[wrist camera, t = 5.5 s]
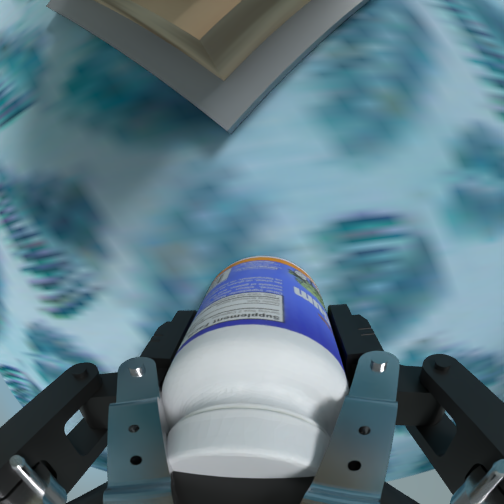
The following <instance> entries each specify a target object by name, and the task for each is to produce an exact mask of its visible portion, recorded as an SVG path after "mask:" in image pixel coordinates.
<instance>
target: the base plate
mask: <svg viewBox="0 0 504 504" xmlns="http://www.w3.org/2000/svg"><path fill="white" fill-rule="evenodd" d="M368 1H369V0H311V1H310V2H308V3H307V4H306V5H305V6H304V7H302V8H301V9H300V10H299V11H297V12H296V13H295V14H294V15H293V16H292V17H290V18H289V19H288V20H287V21H286V22H285V23H283V24H282V25H281V26H280V27H279V28H278V29H277V30H276V31H275V32H273V33H272V34H271V35H270V36H269V37H268V38H267V39H266V40H265V41H264V42H263V43H262V44H260V45H259V46H258V47H257V48H256V49H255V50H254V51H253V52H252V53H251V54H250V55H249V56H248V57H247V58H246V59H245V60H244V61H243V62H242V63H241V64H240V65H239V66H238V67H237V68H236V69H235V70H234V71H233V72H232V73H231V74H230V75H229V76H228V77H227V79H226V80H225V81H223V80H221V79H220V78H219V77H217V76H216V75H215V74H213V73H212V72H210V71H209V70H208V69H206V68H205V67H203V66H202V65H201V64H199V63H198V62H196V61H195V60H193V59H192V58H190V57H189V56H188V55H186V54H185V53H183V52H182V51H180V50H179V49H177V48H175V47H174V46H172V45H171V44H169V43H168V42H166V41H165V40H163V39H161V38H160V37H158V36H157V35H155V34H153V33H152V32H150V31H148V30H147V29H145V28H143V27H142V26H140V25H138V24H137V23H135V22H133V21H131V20H130V19H128V18H126V17H124V16H123V15H121V14H119V13H117V12H115V11H113V10H111V9H110V8H108V7H106V6H104V5H102V4H100V3H98V2H96V1H94V0H51V1H50V2H49V3H48V4H47V6H46V7H48V8H50V9H52V10H54V11H55V12H57V13H59V14H61V15H62V16H64V17H66V18H67V19H69V20H71V21H73V22H74V23H76V24H78V25H79V26H81V27H82V28H84V29H86V30H87V31H89V32H91V33H92V34H94V35H95V36H97V37H98V38H100V39H102V40H103V41H105V42H106V43H108V44H109V45H111V46H112V47H114V48H115V49H117V50H118V51H120V52H121V53H123V54H124V55H126V56H127V57H129V58H130V59H132V60H133V61H135V62H136V63H138V64H139V65H140V66H142V67H143V68H145V69H146V70H148V71H149V72H150V73H152V74H153V75H155V76H156V77H157V78H159V79H160V80H161V81H163V82H164V83H166V84H167V85H168V86H170V87H171V88H172V89H174V90H175V91H176V92H178V93H179V94H180V95H182V96H183V97H184V98H186V99H187V100H188V101H190V102H191V103H192V104H194V105H195V106H196V107H197V108H199V109H200V110H201V111H203V112H204V113H205V114H206V115H208V116H209V117H210V118H211V119H213V120H214V121H215V122H216V123H218V124H219V125H220V126H221V127H223V128H224V129H225V130H226V131H228V132H229V133H230V134H231V133H232V132H233V131H234V130H235V129H236V128H237V127H238V126H239V124H240V123H241V122H242V121H243V120H244V119H245V118H246V117H247V116H248V115H249V113H250V112H251V111H252V110H253V109H254V108H255V107H256V106H257V105H258V104H259V103H260V102H261V101H262V100H263V99H264V97H265V96H266V95H267V94H268V93H269V92H270V91H271V90H272V89H273V88H274V87H275V86H276V85H277V84H278V83H279V82H280V81H281V80H282V79H283V78H284V77H285V76H286V75H287V74H288V73H289V72H290V71H291V70H292V69H293V68H294V67H295V66H296V65H297V64H298V63H299V62H300V61H301V60H302V59H303V58H304V57H305V56H307V55H308V54H309V53H310V52H311V51H312V50H313V49H314V48H315V47H316V46H317V45H318V44H319V43H320V42H322V41H323V40H324V39H325V38H326V37H327V36H328V35H329V34H330V33H332V32H333V31H334V30H335V29H336V28H337V27H338V26H339V25H341V24H342V23H343V22H344V21H345V20H346V19H348V18H349V17H350V16H351V15H352V14H353V13H355V12H356V11H357V10H358V9H360V8H361V7H362V6H363V5H364V4H366V3H367V2H368Z"/></svg>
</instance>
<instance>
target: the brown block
mask: <svg viewBox="0 0 504 504" xmlns="http://www.w3.org/2000/svg"><path fill="white" fill-rule="evenodd" d="M94 1H96V2H98V3H100V4H102V5H104V6H106V7H108V8H110V9H111V10H113V11H115V12H117V13H119V14H121V15H123V16H124V17H126V18H128V19H130V20H131V21H133V22H135V23H137V24H138V25H140V26H142V27H143V28H145V29H147V30H148V31H150V32H152V33H153V34H155V35H157V36H158V37H160V38H161V39H163V40H165V41H166V42H168V43H169V44H171V45H172V46H174V47H175V48H177V49H179V50H180V51H182V52H183V53H185V54H186V55H188V56H189V57H190V58H192V59H193V60H195V61H196V62H198V63H199V64H201V65H202V66H203V67H205V68H206V69H208V70H209V71H210V72H212V73H213V74H215V75H216V76H217V77H219V78H220V79H221V80H223V81H225V80H226V79H227V77H228V76H229V75H230V74H231V73H232V72H233V71H234V70H235V69H236V68H237V67H238V66H239V65H240V64H241V63H242V62H243V61H244V60H245V59H246V58H247V57H248V56H249V55H250V54H251V53H252V52H253V51H254V50H255V49H256V48H257V47H258V46H259V45H260V44H262V43H263V42H264V41H265V40H266V39H267V38H268V37H269V36H270V35H271V34H272V33H273V32H275V31H276V30H277V29H278V28H279V27H280V26H281V25H282V24H283V23H285V22H286V21H287V20H288V19H289V18H290V17H292V16H293V15H294V14H295V13H296V12H297V11H299V10H300V9H301V8H302V7H304V6H305V5H306V4H307V3H308V2H310V1H311V0H94Z"/></svg>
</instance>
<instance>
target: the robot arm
mask: <svg viewBox="0 0 504 504" xmlns="http://www.w3.org/2000/svg"><path fill="white" fill-rule="evenodd" d="M196 314H197V312H196V311H195V310H191V311H178V312H177V313H176V315H175V316H174V318H173V320H172V321H171V322H166V323H164V324H163V325H161V326H160V327H159V328H158V329H157V330H156V332H155V334H154V336H153V337H152V338H151V340H150V341H149V343H148V345H147V346H146V348H145V349H144V351H143V352H142V354H141V356H140V357H135V358H131V359H129V360H127V361H125V362H124V363H122V364H121V365H120V367H119V369H118V372H116V373H108V374H99V371H98V369H97V367H96V365H94V364H92V363H79V364H76V365H74V366H72V367H70V368H69V369H67V370H66V371H65V372H64V373H63V374H62V375H60V376H59V377H58V378H57V379H56V380H55V381H53V382H52V383H51V384H50V385H49V386H47V387H46V388H45V389H44V390H43V391H42V392H41V393H39V394H38V395H37V396H36V397H35V398H34V399H32V400H31V401H30V402H29V403H28V404H27V405H26V406H24V407H23V408H22V409H21V410H20V411H19V412H18V413H16V414H15V415H14V416H13V417H12V418H11V419H10V420H8V421H7V422H6V423H5V424H4V425H3V426H2V427H1V428H0V504H419V503H417V502H416V501H414V500H413V499H411V498H410V497H408V496H406V495H404V494H403V493H402V492H400V491H398V490H397V489H395V488H394V487H392V486H391V485H389V484H388V483H386V482H385V476H386V472H387V467H388V463H389V458H390V452H391V447H392V441H393V435H394V429H395V425H405V426H406V428H407V430H408V431H409V433H410V434H411V435H412V437H413V438H414V440H415V441H416V442H417V444H418V445H419V447H420V448H421V449H422V451H423V452H424V454H425V455H426V457H427V458H428V459H429V461H430V462H431V464H432V465H433V467H434V468H435V469H436V471H437V472H438V474H439V475H440V477H441V478H442V480H443V481H444V482H445V484H446V485H447V487H448V488H449V490H450V491H451V493H452V494H453V496H452V498H451V501H450V504H504V403H503V402H502V401H501V400H500V399H499V398H498V397H497V396H496V395H495V394H494V393H493V392H491V391H490V390H489V389H488V388H487V387H486V386H485V385H484V384H483V383H482V382H481V381H480V380H478V379H477V378H476V377H475V376H474V375H473V374H472V373H471V372H470V371H468V370H467V369H466V368H465V367H464V366H463V365H462V364H461V363H459V362H458V361H457V360H456V359H455V358H453V357H451V356H448V355H444V354H434V355H431V356H428V357H427V358H426V359H425V360H424V362H423V365H422V367H415V366H404V365H400V364H399V360H398V359H397V357H396V356H394V355H393V354H391V353H388V352H385V351H384V350H383V348H382V346H381V345H380V343H379V341H378V339H377V337H376V335H375V334H374V331H373V330H372V329H371V326H370V324H369V322H368V320H366V319H365V318H363V317H362V316H361V315H352V314H351V312H350V310H349V308H348V306H347V304H341V305H329V306H328V318H329V322H330V325H331V328H332V331H333V334H334V337H335V341H336V344H337V347H338V351H339V354H340V357H341V360H342V364H343V367H344V371H345V374H346V378H347V381H348V386H349V390H350V391H349V395H346V397H345V399H344V402H343V405H342V408H341V411H340V414H339V417H338V419H337V422H336V425H335V428H334V430H333V433H332V436H331V438H330V441H329V444H328V446H327V449H326V451H325V454H324V456H323V459H322V461H321V463H320V466H319V468H318V470H317V473H316V475H315V476H311V477H296V478H235V477H220V476H209V475H200V474H192V473H184V472H178V471H173V469H172V466H171V464H170V462H169V458H168V447H167V436H168V434H169V432H170V430H171V429H170V428H169V425H168V422H167V419H166V415H165V411H164V405H163V400H162V395H161V392H162V386H163V382H164V379H165V376H166V374H167V372H168V370H169V368H170V366H171V363H172V361H173V359H174V357H175V355H176V353H177V351H178V349H179V347H180V345H181V343H182V341H183V339H184V337H185V335H186V333H187V331H188V329H189V327H190V325H191V323H192V322H193V320H194V318H195V316H196ZM78 410H80V412H81V413H82V415H83V417H84V418H83V419H82V420H81V421H80V422H79V423H78V424H77V425H76V426H75V428H74V429H73V430H72V431H71V432H70V433H69V434H68V435H67V436H66V434H65V432H64V427H65V424H66V422H67V421H68V420H69V419H70V418H71V417H72V416H73V415H74V414H75V413H76V412H77V411H78ZM445 410H446V411H447V412H448V414H449V415H450V416H451V417H452V418H453V419H454V421H455V423H456V426H457V427H456V426H455V425H454V423H453V422H452V421H451V420H450V419H449V418H448V416H447V415H446V414H445V413H444V412H445ZM106 446H107V473H108V481H107V482H106V483H104V484H102V485H100V486H98V487H97V488H95V489H93V490H91V491H89V492H87V493H86V494H84V495H82V496H80V497H78V498H76V499H74V500H72V501H70V502H68V503H66V501H67V494H68V493H69V491H70V490H71V489H72V488H73V487H74V485H75V484H76V483H77V482H78V481H79V479H80V478H81V477H82V476H83V474H84V473H85V472H86V471H87V469H88V468H89V467H90V466H91V465H92V463H93V462H94V461H95V460H96V459H97V457H98V456H99V455H100V454H101V452H102V451H103V450H104V449H105V448H106Z"/></svg>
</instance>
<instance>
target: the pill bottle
mask: <svg viewBox="0 0 504 504" xmlns="http://www.w3.org/2000/svg"><path fill="white" fill-rule="evenodd" d="M349 391H350V390H349V386H348V381H347V378H346V374H345V371H344V367H343V364H342V360H341V357H340V354H339V351H338V347H337V344H336V341H335V337H334V334H333V331H332V328H331V325H330V322H329V318H328V315H327V312H326V309H325V306H324V303H323V300H322V297H321V294H320V292H319V290H318V288H317V286H316V284H315V282H314V281H313V280H312V278H311V277H310V276H309V275H308V274H307V273H306V272H305V271H304V270H303V269H302V268H300V267H299V266H297V265H296V264H294V263H292V262H290V261H288V260H285V259H282V258H278V257H272V256H254V257H248V258H244V259H242V260H239V261H237V262H235V263H233V264H231V265H229V266H228V267H227V268H225V269H224V270H223V271H222V272H221V273H220V274H218V276H217V277H216V278H215V280H214V281H213V283H212V284H211V286H210V288H209V290H208V292H207V294H206V296H205V298H204V300H203V302H202V304H201V306H200V308H199V310H198V312H197V314H196V316H195V318H194V320H193V322H192V323H191V325H190V327H189V329H188V331H187V333H186V335H185V337H184V339H183V341H182V343H181V345H180V347H179V349H178V351H177V353H176V355H175V357H174V359H173V361H172V363H171V366H170V368H169V370H168V372H167V374H166V376H165V379H164V382H163V386H162V392H161V395H162V400H163V405H164V411H165V415H166V419H167V422H168V425H169V428H170V429H171V430H170V432H169V434H168V436H167V447H168V458H169V462H170V464H171V466H172V469H173V471H178V472H184V473H192V474H200V475H209V476H220V477H235V478H296V477H311V476H315V475H316V473H317V470H318V468H319V466H320V463H321V461H322V459H323V456H324V454H325V451H326V449H327V446H328V444H329V441H330V438H331V436H332V433H333V430H334V428H335V425H336V422H337V419H338V417H339V414H340V411H341V408H342V405H343V402H344V399H345V397H346V395H349Z"/></svg>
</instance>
